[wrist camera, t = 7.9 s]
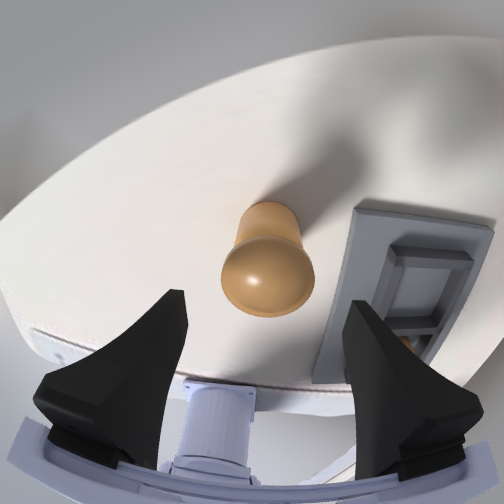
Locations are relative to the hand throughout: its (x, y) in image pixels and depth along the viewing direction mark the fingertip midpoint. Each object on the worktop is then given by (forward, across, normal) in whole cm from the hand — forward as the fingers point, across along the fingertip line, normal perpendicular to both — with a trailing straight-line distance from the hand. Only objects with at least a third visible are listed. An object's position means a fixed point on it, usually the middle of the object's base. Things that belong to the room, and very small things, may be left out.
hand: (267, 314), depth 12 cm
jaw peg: (+8, 0, 0) cm, 8 cm away
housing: (+8, -12, +7) cm, 16 cm away
